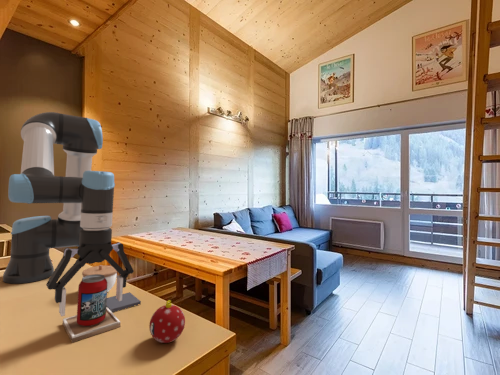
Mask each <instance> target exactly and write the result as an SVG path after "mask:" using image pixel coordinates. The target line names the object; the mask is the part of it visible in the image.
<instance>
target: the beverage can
mask: <svg viewBox="0 0 500 375" xmlns="http://www.w3.org/2000/svg"><path fill="white" fill-rule="evenodd" d="M107 298H108V293H107V280H106V278H105V276H104V275H101V274H94V275H88V276H85V277H83V276H82V278H81V281H80V282H79V284H78V290H77V305H76V307H77V308H76V315H77V323H78V324H79V325H82V326H86V327H87V326H94V325H96V324H98V323H100V322H101V321H103V320H104V319H105V317H106V302H107Z"/></svg>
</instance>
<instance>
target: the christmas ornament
mask: <svg viewBox="0 0 500 375" xmlns="http://www.w3.org/2000/svg"><path fill="white" fill-rule="evenodd" d="M148 326H149V332H150V335H151V337H152V338H153V339H154V340H155V341H156V342H158V343H160V344H161V343H162V344H168V343H172V342H174V341H175V340H177V339H178V338H179V337H180V336H181V335H182V333H183V331H184V329H185V326H186V317H185V313H184V312H183V310H182V309H181V308H180V307H179V306H177V305H174V304H172V300H170V299H169V300H167V301H166V303H165V304H164V305H162V306H160V307H159V308H157V309H156V310H155V312H154V313H152V315H151V317H150V320H149V325H148Z"/></svg>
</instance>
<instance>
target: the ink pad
mask: <svg viewBox="0 0 500 375" xmlns="http://www.w3.org/2000/svg"><path fill="white" fill-rule="evenodd" d="M138 304H140V305H141V300H140V299H139V298H138V297H136V296H135V295H133V293H131V292H126V293H122V301H119V300H117V299H116V295H114V296H109V297H107V302H106V307H108V308H109V310H110V311H111V312H112V313H114V312H115V311H116V312H118V310H119V311H122V309H123V310H125V308H126V309H129V308H128V307H130V308H132V307H131V306H133V307H135V306H134V305H136V306H139V305H138Z"/></svg>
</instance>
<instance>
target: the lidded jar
mask: <svg viewBox="0 0 500 375" xmlns="http://www.w3.org/2000/svg"><path fill="white" fill-rule="evenodd" d="M81 273H82V274H81V275H82V278H83V277H85V276H88V275H94V274H101V275H104V276H105V278H106V280H107V292H108V293H109V292H110V290H112V289H113V287H114V286H115V284H116V282H117V276H118V272H117V271H116V270H115V269H114V268H113V267H112V266H111V265H103V264H100V265H96V266H92V267H87V268H86V269H84V270H83V271H82V272H81Z"/></svg>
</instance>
